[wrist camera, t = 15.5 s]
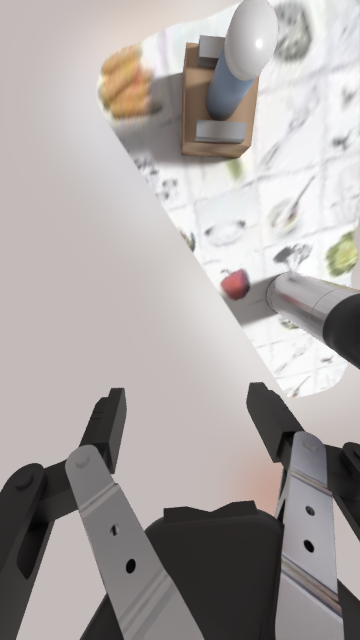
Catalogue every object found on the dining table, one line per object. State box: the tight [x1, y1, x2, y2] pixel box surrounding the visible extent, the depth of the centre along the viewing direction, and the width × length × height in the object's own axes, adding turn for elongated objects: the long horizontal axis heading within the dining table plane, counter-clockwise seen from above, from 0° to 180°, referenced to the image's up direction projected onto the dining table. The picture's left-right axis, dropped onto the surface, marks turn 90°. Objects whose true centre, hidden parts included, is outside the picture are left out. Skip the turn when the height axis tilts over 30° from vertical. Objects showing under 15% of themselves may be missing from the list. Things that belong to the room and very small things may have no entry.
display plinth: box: [182, 35, 260, 158], centre depth 29 cm, size 10×10×6 cm
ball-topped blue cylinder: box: [206, 0, 278, 121], centre depth 23 cm, size 5×5×10 cm
